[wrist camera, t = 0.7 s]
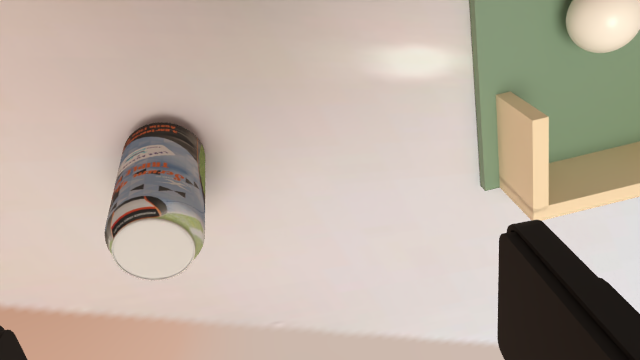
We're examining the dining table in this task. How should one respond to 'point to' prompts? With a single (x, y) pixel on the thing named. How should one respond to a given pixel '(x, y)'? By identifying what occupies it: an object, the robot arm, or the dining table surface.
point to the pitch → (553, 110)
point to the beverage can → (158, 203)
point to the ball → (603, 23)
